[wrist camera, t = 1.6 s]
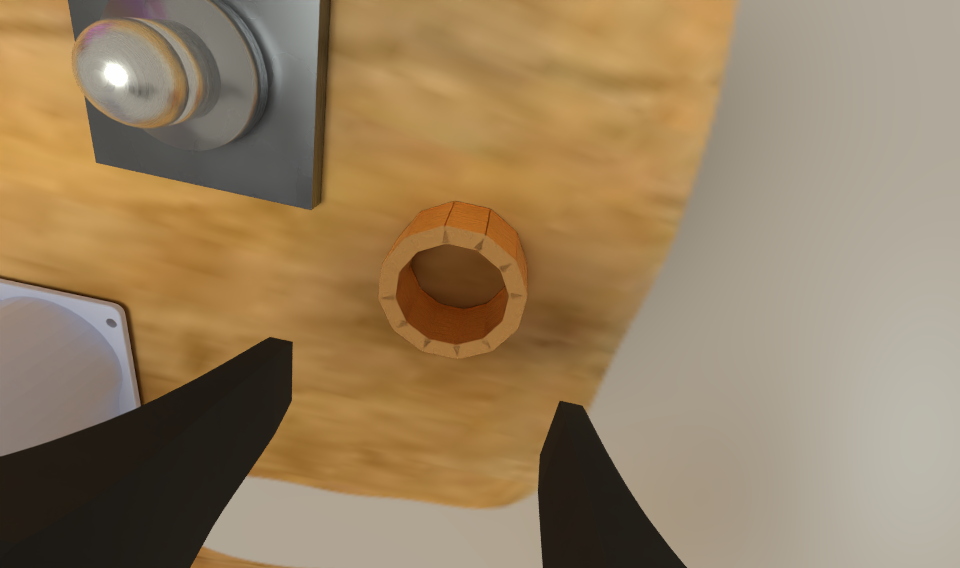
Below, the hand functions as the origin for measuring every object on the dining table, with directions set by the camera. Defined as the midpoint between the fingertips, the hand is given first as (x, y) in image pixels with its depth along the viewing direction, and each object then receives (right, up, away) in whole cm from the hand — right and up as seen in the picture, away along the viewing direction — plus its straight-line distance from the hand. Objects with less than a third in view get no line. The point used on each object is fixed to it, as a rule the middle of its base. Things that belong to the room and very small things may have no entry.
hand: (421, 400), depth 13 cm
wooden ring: (+1, +4, +9) cm, 10 cm away
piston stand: (-9, +11, +6) cm, 16 cm away
